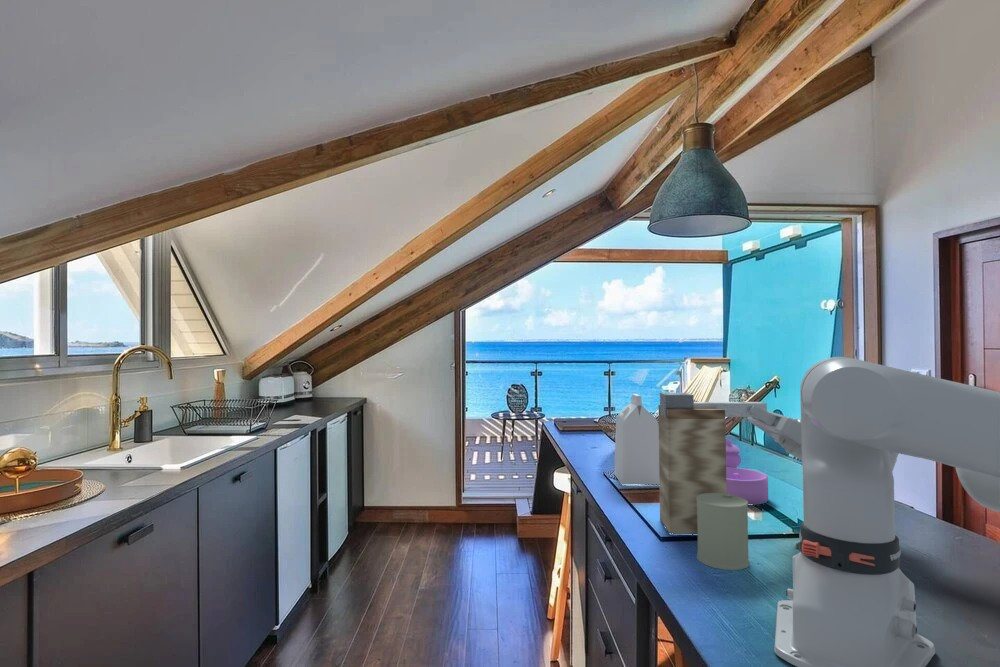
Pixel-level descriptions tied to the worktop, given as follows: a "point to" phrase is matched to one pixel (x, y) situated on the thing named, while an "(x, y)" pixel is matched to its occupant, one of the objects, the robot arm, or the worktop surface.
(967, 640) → the worktop surface
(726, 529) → the can
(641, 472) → the milk
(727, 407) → the steel bar
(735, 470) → the container set
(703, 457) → the post
